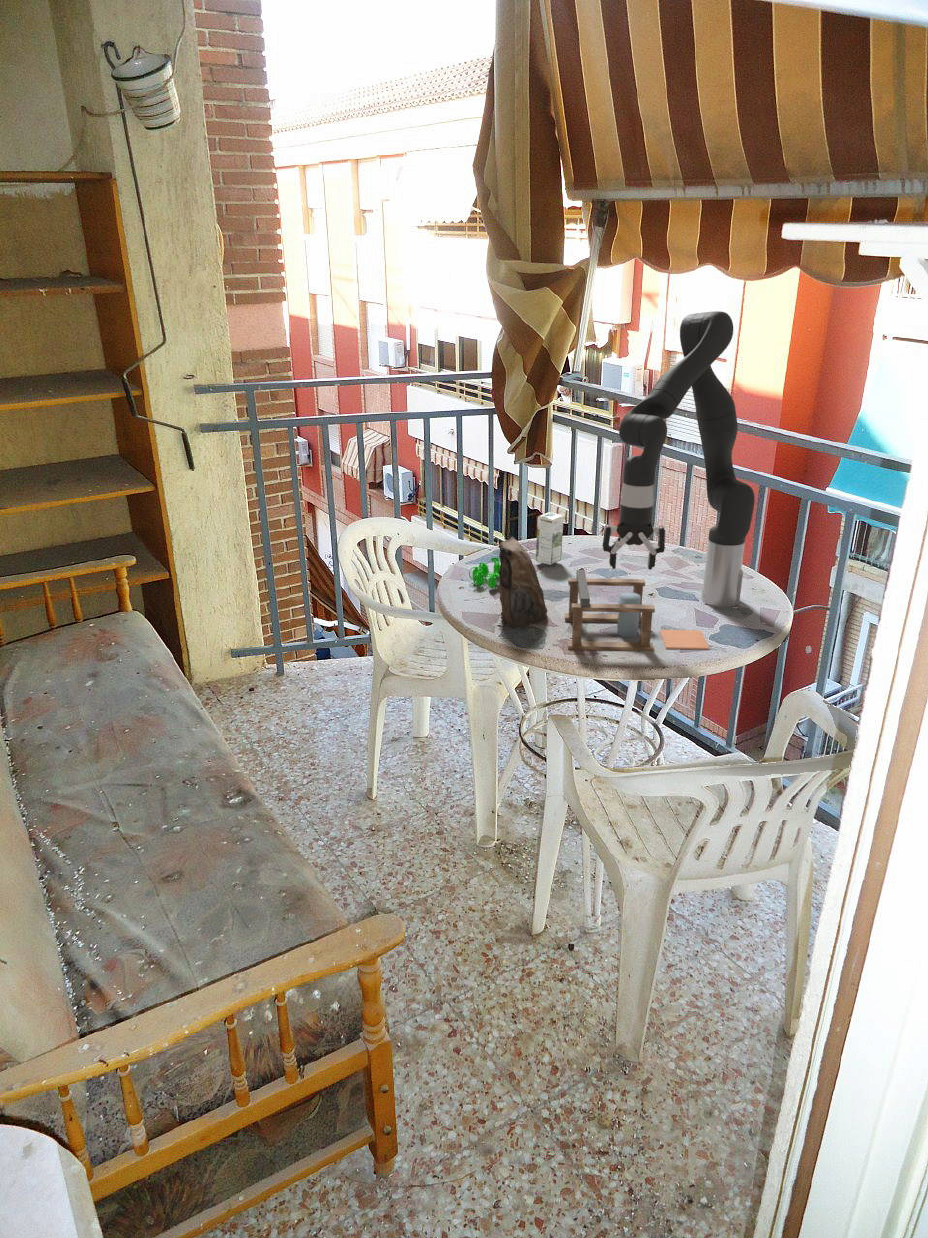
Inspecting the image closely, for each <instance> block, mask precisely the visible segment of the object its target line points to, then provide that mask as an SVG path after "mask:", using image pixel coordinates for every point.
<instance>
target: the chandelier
mask: <svg viewBox="0 0 928 1238" xmlns="http://www.w3.org/2000/svg"><path fill="white" fill-rule="evenodd" d="M490 561H491V562H494V563H493V572H491V571H490V569H489V567H488V564H487V563H486V562H480V563H479V564H478V566H472V567H471V568H470V570H469V572H468V575H469V578H470V579H471V580H472V582H473V584H474V585H475V586H477V587H481V586H483V585H484V584H485V583H486V581H487V578H488V587H490V589H491V590H494V588H496V587H497V578H499V570H500V566H501V563H500V562H499V561H500V557H491V559H490ZM471 571H472V575H471Z"/></svg>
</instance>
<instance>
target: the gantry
mask: <svg viewBox="0 0 928 1238" xmlns="http://www.w3.org/2000/svg"><path fill="white" fill-rule="evenodd" d="M586 580H587V586H596V587H597V586H598V587H599V586H603V587H604V586H605V587H609V586H611V587H613V586H615V587H618V586H619V587H633V591H632V593H636V594H639V595H640V596H641V600H640V605H634V604H619V603H617V604H616V603H615V604H614V603H590V606H589V607H581V605H580V603H579V592H578V586H577V579H576V577H568V578H567V582H568V583H567V584H568V586H569V597H568V598H569V599H568V600H569V601H568V612H567V613H566V612H565V613H564V621H565V622H572V631H571V632H572V635H571V640H567V649H568V650H581V651H583V650H584V651H585V650H586V651H587V650H590V651H593V650H594V651H599V650H600V651H601V650H602V651H655V646H654V644H653V642H652V641H651V633H652V622H653V614H654V613H655V612H656V609H655V606H654V604H642V602H643V591H644V587H646V580H645V578H594V577H593V578H592V577H591V578H590V577H589V578H587V577H586ZM583 612H590V613H583ZM591 612H592V613H591ZM593 612H595V613H593ZM619 612H639V623H640V633H639V634H640V635H639V641H603V640H602V641H598V640H596V641H594V640H582V632H583V622H584V623H585V622H586V623H587V622H588V623H618V614H619Z"/></svg>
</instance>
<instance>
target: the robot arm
mask: <svg viewBox="0 0 928 1238" xmlns="http://www.w3.org/2000/svg"><path fill="white" fill-rule="evenodd" d="M733 336H734V323H733V320H732V317H731V316H730V315H729V314H728V313H727V312H725V311H721V310H720V311H707V312H706V311H705V312H697V313H690V314H688V315H686V316H684V317H683V319H682V321H681V324H680V327H679V340H680V346H681V350H682V354H683V358H682V359H680V361H678V362H676V363H675V364H674V365H673V366H671V367H670V368H669V369H668V370H666V371H665V372H664V373H663V374H662V375H661V376H660V378H659V379H658V380H657V381H656V383H655V384H654V385H653V387H652V389H651V390H650V392H649V393H648V395H647V396H646V397H644V398H643V399H641V401H639V402H638V403H637V404H635V406H633V407H632V408H631V409H630V410H629V411H628V412H627V413H626V414H625V415H624V416H623V418H622V419H621V421H620V423H619V424H620V425H619V428H618V435H619V438H620V440H621V441H622V442H623V443H624V444H627V445H630V446H635V447H636V446H637V447H640V448H641V447H642V448H643V451H642V452H641V454H640V455H639V454H637V455H631V456H628V457H627V458H626V459H625V461H624V467H623V468H624V469H623V480H622V487H621V492H620V504H619V516H618V517H619V518H618V519H619V520H618V524H617V525H615V526H614V525H610V523H609V524H608V523H607V524H605V526H604V531H603V539H602V550H603V551H604V552H607V553H609V561H608V563H609V567H611V568H612V570H615V569H616V566H617V552H618V551H619V550H620V549H621V548H622V547H623V546H624V545H627V546H632V545H635V546H641V545H643V544H644V546H645V547H646V549H647V550H648V551H649V552H648V558H647V559H648V561H647V569H648V570H649V571H651V570H653V568H655V566H656V559H657V557H656V556H657V555H658V554H661V553H664V552H665V546H666V545H665V543H666V542H665V541H666V529H665V527H664V525H662V524H661V525H658V526H653V514H654V513H653V512H654V504H655V479H656V478H655V477H656V470H657V469H656V468H657V465H658V461H659V458H660V455H661V453H662V450H663V448H664V444H665V441H666V439H667V436H668V426H667V423H666V421H665V420H666V419H668V418H670V417H671V416H672V415H673V414H674V413H675V411H676V409H677V408H678V407H679V405H680V403H681V402H682V401H683V399H684V398H685V396H686V394H687V393H688V392H689V390H690V389H691V390H692V394H693V400H694V406H695V414H696V420H697V427H698V431H699V437H700V442H701V448H702V449H701V450H702V455H703V460H704V465H705V466H704V467H705V481H706V495H707V501H708V504H709V505H710V506H711V508H712V509H713V510H715V511H716V512H717V513H719V519H718V524H717V525H715V526H712V527H711V528H710V529H709V532H708V538H707V548H706V549H707V550H706V558H705V565H704V566H705V567H704V573H703V574H704V576H703V584H702V592H701V601H702V602H703V603H704V604H706V605H709V606H712V607H717V608H727V607H733V606H739V605H740V599H741V594H742V585H743V578H744V571H743V570H742V568H743V567H742V566H743V560H744V559H743V558H744V550H745V544H746V537H747V536H748V534H749V532H750V528H751V525H752V520H753V515H754V509H755V491H754V489H753V488H752V486H751V485H749V484H747V483H745V482H743V481H741V480H739V479H737V477H736V474H735V470H734V465H733V455H732V454H733V449H734V446H735V443H736V439H737V437H738V436H737V435H738V429H739V426H738V416H737V410H736V406H735V402H734V399H733V397H732V396H731V394H730V392H729V391H728V389H727V388H726V387H725V386H724V385H723V383H722V382H721V380H720V379H719V378H718V377H717V375H716V374H715V372H714V370H713V368H712V364H713V363H714V362H715V361H716V360H718V358H719V357H720V356H721V355H722V354H723V353H724V352H725V350H726V349H727V348H728V347H729V346H730V343H731V341H732V339H733ZM615 532H616V533H617V534H618V537H617V538H616V539H615V541H614V543H613V544H612V545H610V539H611V536H613V535H614V533H615ZM653 534H655V536H656V537H657V546H654V545H653V544H652V542H651V540H650V539H649V538H650V537H651V536H652V535H653Z"/></svg>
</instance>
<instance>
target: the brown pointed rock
mask: <svg viewBox="0 0 928 1238" xmlns="http://www.w3.org/2000/svg"><path fill="white" fill-rule="evenodd" d="M498 548H499V555H498V558H499V561H500V562H499V563H500V564H501V566H500V570H499V574H498V575H499V577H498V578H499V582H498V585H497V588H496V589H497V591H498V593H499V601H500V605H501V613H500V615H501V617H500V619H502V620H501V621H502V622H501V623H503V622H504V623H505V624H504V623H503V624H504V625H506V624H508V625H507V626H509V625H510V628H512V627H513V628H512V629H519V628H518V627H520V628H523V627H525V626H529V625H531V624H534V623H538V622H542V621H543V620H546V619H548V618H549V617H548V614H547V613H548V608H547V605H546V602H545V597H544V591H543V588H542V587H541V584H540V581H539V577H538V574H537V571H536V567H535V566H534V564H533V561H532V559H531V557H530V555H529V554H528V552H527V550H526V549H525V547H524V548H523V546H522V544H520V542H519V541H518V540H517V539H515V537H514V536H510V538H509V539H507V540H502V541H501V542H500V543H499V545H498ZM522 626H523V627H522Z"/></svg>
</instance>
